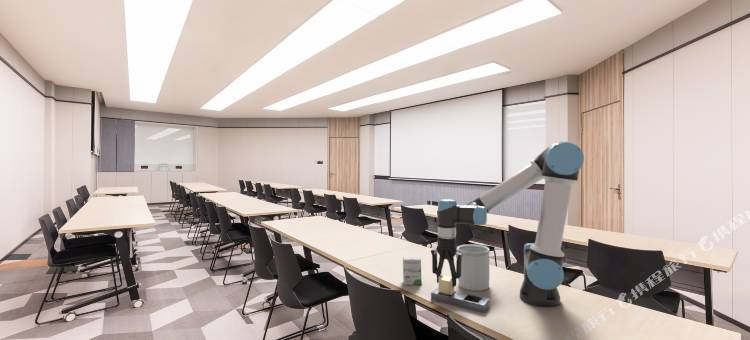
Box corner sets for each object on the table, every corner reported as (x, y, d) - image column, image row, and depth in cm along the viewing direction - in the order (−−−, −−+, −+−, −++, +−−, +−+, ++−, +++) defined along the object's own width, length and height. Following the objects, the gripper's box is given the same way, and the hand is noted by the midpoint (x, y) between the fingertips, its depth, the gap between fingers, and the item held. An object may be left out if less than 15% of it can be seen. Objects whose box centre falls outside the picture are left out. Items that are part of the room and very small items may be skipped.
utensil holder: (454, 288, 149) (453, 250, 149) (459, 278, 163) (459, 243, 162) (488, 293, 143) (487, 253, 143) (491, 282, 157) (491, 245, 156)
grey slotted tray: (489, 306, 130) (489, 298, 130) (483, 313, 124) (483, 305, 124) (438, 294, 143) (438, 287, 143) (431, 299, 137) (431, 292, 137)
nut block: (453, 292, 138) (453, 278, 137) (449, 295, 134) (449, 281, 134) (443, 289, 140) (443, 276, 140) (439, 293, 137) (439, 279, 136)
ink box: (421, 281, 159) (421, 256, 159) (421, 285, 154) (421, 259, 154) (403, 280, 160) (402, 256, 160) (403, 284, 155) (402, 259, 155)
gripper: (470, 237, 134) (469, 294, 135) (431, 232, 144) (431, 284, 145) (463, 241, 128) (463, 300, 129) (423, 235, 138) (423, 290, 139)
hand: (446, 292), depth 137 cm, fingers closed on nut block, 4 cm apart
